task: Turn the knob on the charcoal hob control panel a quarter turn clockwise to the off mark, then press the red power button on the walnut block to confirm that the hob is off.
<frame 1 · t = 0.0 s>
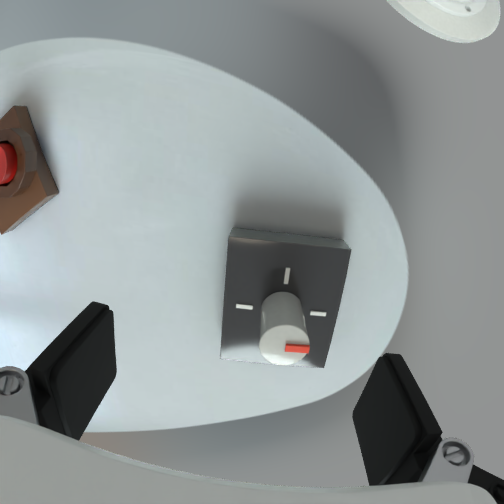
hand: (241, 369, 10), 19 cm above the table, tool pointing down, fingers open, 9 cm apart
hob knob: (283, 327, 25), point 6 cm above the table, hinge at 90.0°
power block: (16, 169, 27), on the table
hob panel: (280, 294, 30), on the table
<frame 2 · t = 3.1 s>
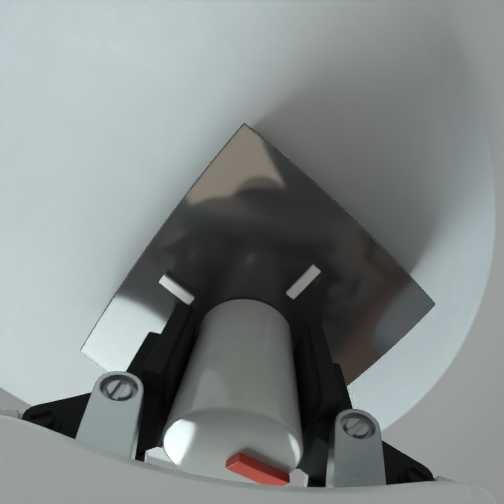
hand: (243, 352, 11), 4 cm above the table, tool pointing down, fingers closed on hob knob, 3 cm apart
hob knob: (238, 390, 9), point 6 cm above the table, hinge at 89.9°, touching gripper
hob panel: (249, 304, 15), on the table
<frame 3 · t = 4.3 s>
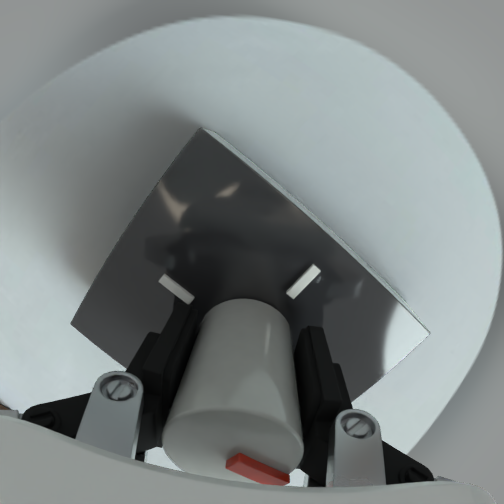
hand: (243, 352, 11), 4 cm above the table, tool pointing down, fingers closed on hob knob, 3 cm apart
hob knob: (238, 389, 9), point 6 cm above the table, hinge at -0.4°, touching gripper
hob panel: (249, 303, 15), on the table
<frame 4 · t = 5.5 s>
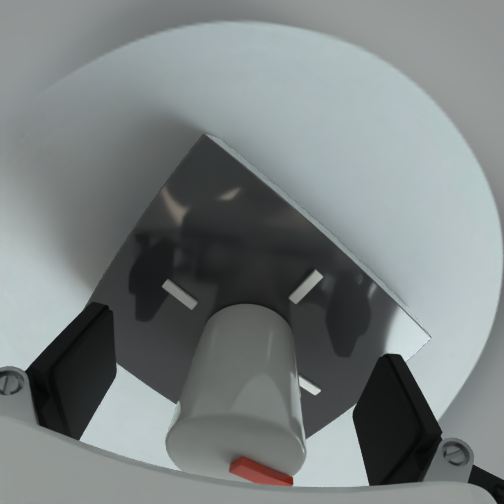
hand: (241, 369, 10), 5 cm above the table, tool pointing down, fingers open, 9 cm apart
hob knob: (241, 394, 9), point 6 cm above the table, hinge at 1.4°
hob panel: (251, 308, 15), on the table
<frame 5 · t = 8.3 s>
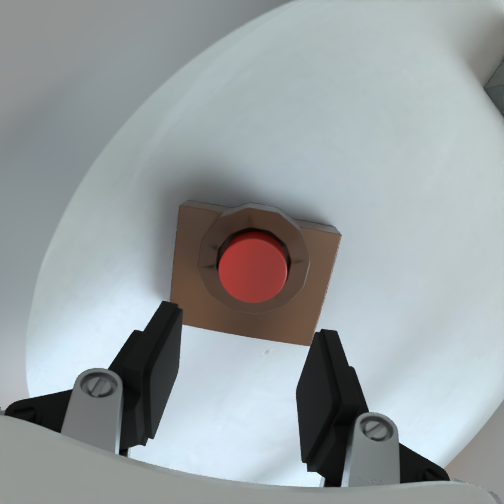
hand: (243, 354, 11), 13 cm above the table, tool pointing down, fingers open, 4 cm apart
power button: (253, 267, 20), point 4 cm above the table, slide at 0.1 cm
power block: (251, 270, 25), on the table
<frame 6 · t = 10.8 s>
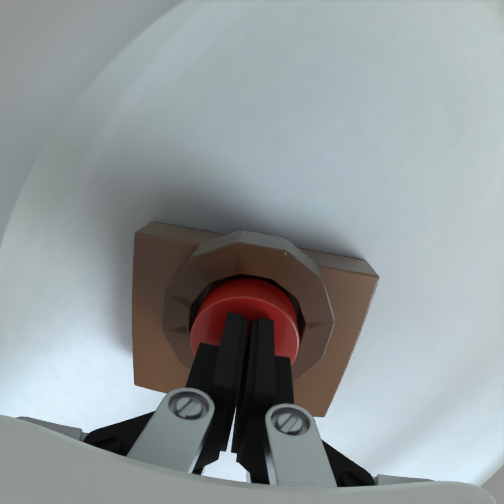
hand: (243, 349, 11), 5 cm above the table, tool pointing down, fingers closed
power button: (245, 333, 12), point 4 cm above the table, slide at 0.0 cm, touching gripper
power block: (244, 320, 17), on the table
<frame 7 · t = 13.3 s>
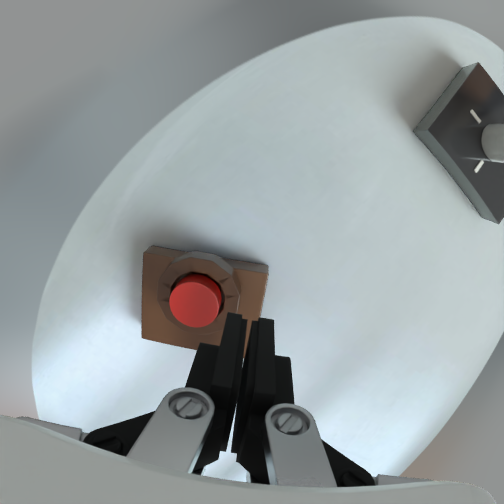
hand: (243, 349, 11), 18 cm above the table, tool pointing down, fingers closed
power button: (195, 300, 26), point 4 cm above the table, slide at 0.1 cm
power block: (203, 299, 31), on the table
hob panel: (476, 142, 25), on the table
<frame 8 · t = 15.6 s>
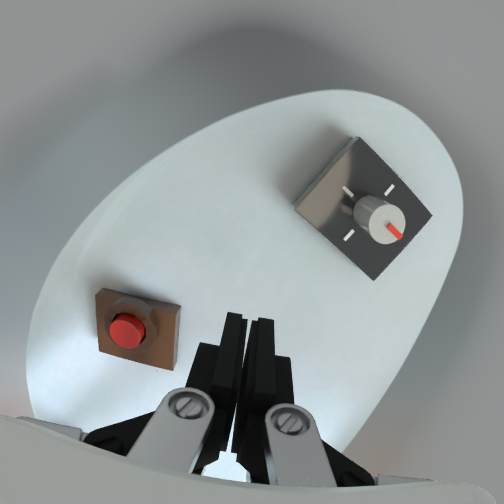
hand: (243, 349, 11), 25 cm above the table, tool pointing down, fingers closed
hob knob: (378, 218, 29), point 6 cm above the table, hinge at 1.4°
power button: (127, 331, 36), point 4 cm above the table, slide at 0.1 cm
power block: (139, 326, 41), on the table
hob panel: (361, 207, 34), on the table
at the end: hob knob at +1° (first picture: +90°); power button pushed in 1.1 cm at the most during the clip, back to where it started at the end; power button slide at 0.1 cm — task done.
